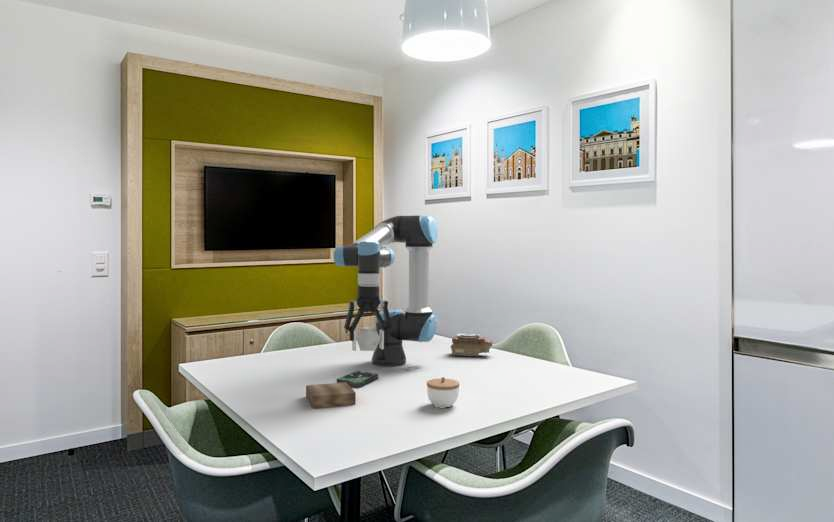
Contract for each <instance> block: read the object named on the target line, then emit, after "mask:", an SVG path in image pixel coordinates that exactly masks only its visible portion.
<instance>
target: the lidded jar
mask: <svg viewBox="0 0 834 522" xmlns="http://www.w3.org/2000/svg"><path fill="white" fill-rule="evenodd" d="M426 393H427V397H428V400H429V401H430V403H431V404H432V405H433V407H434V406H437V407H449V406H452V407H453V405H454V404H455V403H456V402H457V401H458V398H459V393H460V382H459V380H456V379H453V378H445V377H444V376H441V377H439V378H433V379H429V380H427V381H426ZM437 407H436V408H437Z"/></svg>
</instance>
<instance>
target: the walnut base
mask: <svg viewBox="0 0 834 522" xmlns="http://www.w3.org/2000/svg"><path fill="white" fill-rule="evenodd" d="M356 393H357V392H356V391H355V389H353V387H350V386H349V385H348V384H347V383H346V382H342V383H337V382H331V383H318V384H306V385H305V397H306V399H307V401H308V403H309V404H310V406H311V407H312V409H321V408H334V407H344V406H345V407H346V406H354V405H356V402H357V401H356V399H357V397H356Z"/></svg>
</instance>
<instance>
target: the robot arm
mask: <svg viewBox="0 0 834 522" xmlns="http://www.w3.org/2000/svg"><path fill="white" fill-rule="evenodd" d="M437 241H438V228H437V223H436V221H435V219H434V218H433V217H432V216H430V215H423V214H421V215H396V216H392V217H389V218H387V219H385V220H382V221H381V222H379V223H377V224H376V225H375V226H374V228H373V229H372V230H371V231H369V232H368V233H366V234H365V235H363V236H361V237H360V238H358V239H357V240H355V241H354V242H352V243H351V244H348V245H340V246H336V248H335V249H334V250H333V261H334V263H335V265H336V266H339V267H346V268H347V267H350V268H352V267H354V268H356V267H357V269H358V271H357V284H358V285H359V286H358V287H357V300H355V301H351V300H350V301H348V312H347V314H346V319H345V322H344V323H345V324H344V327H343V328H344V330H346V331H349V341H351V350H352V351H355V352H357V339H356V337H357V331H356V328H357V326H358V324H359V322H360V321H361V318H362V316H363V315H364V313H373V315H375V318H376V319H375V328H376V330H377V332H378V335H379V337H380V342H379V344H378V346H377V348H376V350H375V351H373V353H372V357H371V364H373V365H375V366H380V367H398V366H404V365H406V363H407V355H406V353H405V350H404V349H405V348H404V347H403V341H407V342H408V341H409V342H418V343H429V342H431V341H432V339H433V338H434V336H435V334H436V331H437V327H438V326H437V325H438V319H437V316H436V315H434V314H433V310H432V308H430V304H429V302H430V301H429V299H430V296H429V295H430V294H429V289H430V286H429V285H430V280H429V279H430V278H429V277H430V250H432V248H433V245H434V244H435V243H437ZM391 243H403V244H404V245H405V246H404V247H405V248H406V250H407V251H408V307H407V308H406V309H405V310H404V311H405V312H404V311H403V309H388V306H389V302H388V300H385V299H384V300H381V299H380V286H379V285H380V270H381V269H380V268H388V267H390V266H392V264H393V263H394V262H395V259H396V257H395V255H396V254H395V253H394V251H393V249H391V248H390V247H388V246H387V245H389V244H391ZM384 245H385V246H384ZM356 306H358V310H357V313H356V315H355V317H354V318H353V315H354V311H355V308H356ZM379 306H381V308H382V311H380V310H379V309H378V308H379ZM352 319H353V320H352Z"/></svg>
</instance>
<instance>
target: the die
mask: <svg viewBox="0 0 834 522" xmlns="http://www.w3.org/2000/svg"><path fill="white" fill-rule="evenodd" d="M379 342H380V337H379V335H378V332H377V330H376V327H360V329H359V331H358V333H357V334H356V343H357V344H358V347H359V350H360V351H362V352H364V351H365V352H367V351H368V352H370V351H371V352H374V351H375V350H376V348H377V346H378V344H379Z"/></svg>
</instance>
